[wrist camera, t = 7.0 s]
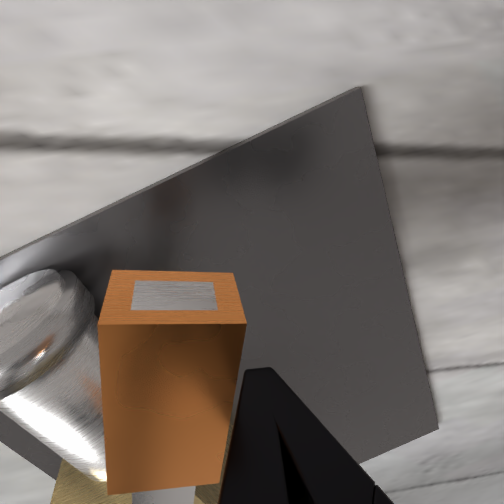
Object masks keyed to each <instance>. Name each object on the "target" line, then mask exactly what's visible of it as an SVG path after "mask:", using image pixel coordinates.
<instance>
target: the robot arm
mask: <svg viewBox="0 0 504 504" xmlns="http://www.w3.org/2000/svg"><path fill="white" fill-rule="evenodd" d="M218 504H394V503H393V502H392V501H391V500H390V499H389V497H388V496H387V495H386V494H385V493H384V492H383V491H382V490H381V488H380V487H379V486H378V485H375V482H374V481H373V480H372V479H371V477H370V476H369V475H368V474H367V473H366V472H365V471H364V470H363V468H362V467H361V466H360V465H359V464H358V463H357V462H356V461H355V460H354V458H353V457H352V456H351V455H350V454H349V453H348V452H347V451H346V449H345V448H344V447H343V446H342V445H341V444H340V443H339V442H338V441H337V439H336V438H335V437H334V436H333V435H332V434H331V433H330V432H329V430H328V429H327V428H326V427H325V426H324V425H323V424H322V423H321V422H320V420H319V419H318V418H317V417H316V416H315V415H314V414H313V413H312V411H311V410H310V409H309V408H308V407H307V406H306V405H305V404H304V403H303V401H302V400H301V399H300V398H299V397H298V396H297V395H296V394H295V392H294V391H293V390H292V389H291V388H290V387H289V386H288V385H287V384H286V382H285V381H284V380H283V379H282V378H281V377H280V376H279V375H278V373H277V372H276V371H275V370H274V369H273V368H271V367H262V368H253V369H246V370H245V371H244V375H243V380H242V385H241V390H240V395H239V400H238V405H237V410H236V415H235V420H234V425H233V429H232V434H231V439H230V444H229V449H228V454H227V459H226V464H225V469H224V474H223V479H222V484H221V489H220V494H219V499H218Z"/></svg>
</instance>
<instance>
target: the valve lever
mask: <svg viewBox="0 0 504 504" xmlns="http://www.w3.org/2000/svg"><path fill="white" fill-rule="evenodd" d="M97 325H98V342H99V359H100V376H101V393H102V410H103V426H104V443H105V460H106V477H107V494H108V495H115V494H125V493H132V504H194V496H195V488H196V486H198V485H207V484H216V483H219V481H220V476H221V470H222V464H223V458H224V453H225V447H226V441H227V435H228V430H229V424H230V418H231V412H232V407H233V401H234V395H235V389H236V384H237V378H238V372H239V366H240V361H241V355H242V349H243V343H244V338H245V332H246V326H247V322H246V318H245V314H244V311H243V307H242V304H241V300H240V296H239V293H238V289H237V285H236V282H235V278H234V274H233V273H220V272H181V271H141V270H112V272H111V276H110V280H109V283H108V287H107V291H106V295H105V298H104V302H103V306H102V310H101V313H100V317H99V321H98V324H97Z"/></svg>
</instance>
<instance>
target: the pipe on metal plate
mask: <svg viewBox="0 0 504 504" xmlns="http://www.w3.org/2000/svg"><path fill="white" fill-rule="evenodd" d="M112 270H141V271H181V272H220V273H233V274H234V278H235V282H236V285H237V289H238V293H239V296H240V300H241V304H242V307H243V311H244V314H245V318H246V322H247V326H246V332H245V338H244V343H243V349H242V355H241V361H240V366H239V372H238V378H237V384H236V389H235V395H234V401H233V407H232V412H231V418H230V424H229V430H228V435H227V441H226V447H225V453H224V458H223V464H222V470H221V476H220V481H219V483H216V484H207V485H198V486H196V488H195V496H194V504H218V499H219V494H220V489H221V484H222V479H223V474H224V469H225V464H226V459H227V454H228V449H229V444H230V439H231V434H232V429H233V425H234V420H235V415H236V410H237V405H238V400H239V395H240V390H241V385H242V380H243V375H244V371H245V370H246V369H253V368H262V367H271V368H273V369H274V370H275V371H276V372H277V373H278V375H279V376H280V377H281V378H282V379H283V380H284V381H285V382H286V384H287V385H288V386H289V387H290V388H291V389H292V390H293V391H294V392H295V394H296V395H297V396H298V397H299V398H300V399H301V400H302V401H303V403H304V404H305V405H306V406H307V407H308V408H309V409H310V410H311V411H312V413H313V414H314V415H315V416H316V417H317V418H318V419H319V420H320V422H321V423H322V424H323V425H324V426H325V427H326V428H327V429H328V430H329V432H330V433H331V434H332V435H333V436H334V437H335V438H336V439H337V441H338V442H339V443H340V444H341V445H342V446H343V447H344V448H345V449H346V451H347V452H348V453H349V454H350V455H351V456H352V457H353V458H354V460H355V461H356V462H357V463H358V464H360V463H362V462H365V461H367V460H369V459H371V458H374V457H376V456H378V455H380V454H383V453H385V452H387V451H390V450H392V449H394V448H396V447H399V446H401V445H403V444H406V443H408V442H410V441H412V440H415V439H417V438H419V437H421V436H424V435H426V434H428V433H431V432H433V431H435V430H437V429H439V427H438V422H437V418H436V414H435V409H434V405H433V401H432V396H431V392H430V387H429V383H428V379H427V374H426V370H425V366H424V361H423V357H422V353H421V348H420V344H419V339H418V335H417V331H416V326H415V322H414V318H413V313H412V309H411V305H410V300H409V296H408V291H407V287H406V283H405V278H404V274H403V270H402V265H401V261H400V257H399V252H398V248H397V243H396V239H395V235H394V230H393V226H392V222H391V217H390V213H389V209H388V204H387V200H386V195H385V191H384V187H383V182H382V178H381V174H380V169H379V165H378V161H377V156H376V152H375V147H374V143H373V139H372V134H371V130H370V126H369V121H368V117H367V113H366V108H365V104H364V99H363V95H362V91H361V88H359V87H355V88H353V89H351V90H348V91H346V92H344V93H342V94H340V95H338V96H336V97H334V98H332V99H330V100H328V101H325V102H323V103H321V104H319V105H317V106H315V107H313V108H311V109H309V110H307V111H305V112H303V113H300V114H298V115H296V116H294V117H292V118H290V119H288V120H286V121H284V122H282V123H280V124H277V125H275V126H273V127H271V128H269V129H267V130H265V131H263V132H261V133H259V134H257V135H254V136H252V137H250V138H248V139H246V140H244V141H242V142H240V143H238V144H236V145H234V146H231V147H229V148H227V149H225V150H223V151H221V152H219V153H217V154H215V155H213V156H211V157H208V158H206V159H204V160H202V161H200V162H198V163H196V164H194V165H192V166H190V167H188V168H185V169H183V170H181V171H179V172H177V173H175V174H173V175H171V176H169V177H167V178H165V179H162V180H160V181H158V182H156V183H154V184H152V185H150V186H148V187H146V188H144V189H142V190H139V191H137V192H135V193H133V194H131V195H129V196H127V197H125V198H123V199H121V200H119V201H116V202H114V203H112V204H110V205H108V206H106V207H104V208H102V209H100V210H98V211H96V212H94V213H91V214H89V215H87V216H85V217H83V218H81V219H79V220H77V221H75V222H73V223H71V224H68V225H66V226H64V227H62V228H60V229H58V230H56V231H54V232H52V233H50V234H48V235H45V236H43V237H41V238H39V239H37V240H35V241H33V242H31V243H29V244H27V245H25V246H22V247H20V248H18V249H16V250H14V251H12V252H10V253H8V254H6V255H4V256H2V257H0V441H1V442H2V443H4V444H5V445H6V446H8V447H9V448H11V449H12V450H14V451H15V452H16V453H18V454H19V455H21V456H22V457H24V458H25V459H26V460H28V461H29V462H31V463H32V464H34V465H35V466H36V467H38V468H39V469H41V470H42V471H44V472H45V473H46V474H48V475H49V476H51V477H52V478H54V479H55V480H56V484H55V488H54V492H53V496H52V499H51V503H50V504H132V493H125V494H115V495H108V494H107V477H106V460H105V443H104V426H103V410H102V393H101V376H100V359H99V342H98V325H97V324H98V321H99V317H100V313H101V310H102V306H103V302H104V298H105V295H106V291H107V287H108V283H109V280H110V276H111V272H112Z"/></svg>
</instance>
